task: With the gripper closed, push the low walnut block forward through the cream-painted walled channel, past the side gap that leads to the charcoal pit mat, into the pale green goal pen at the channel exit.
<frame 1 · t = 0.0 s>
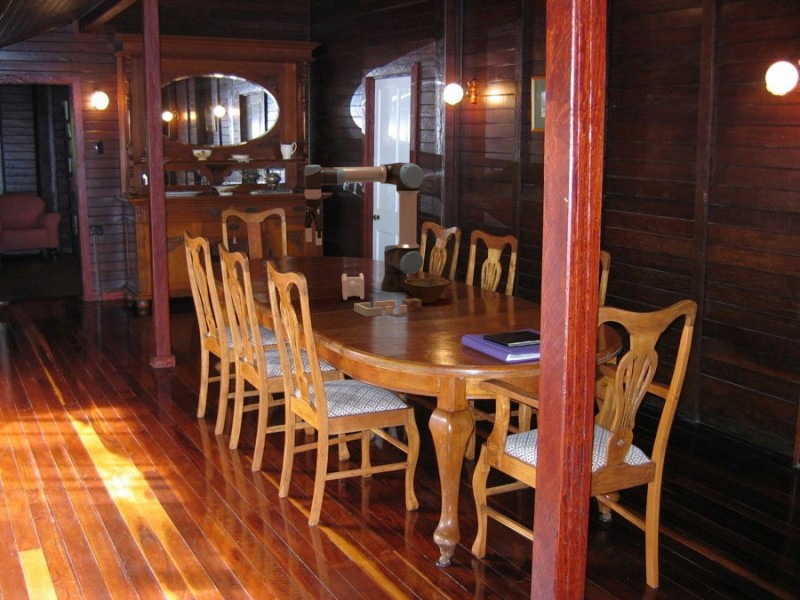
hand: (313, 243, 435), 28 cm above the table, fingers open, 13 cm apart
pit mat: (400, 315, 410), on the table
block: (411, 309, 424), on the table
bowl: (426, 301, 442), on the table
channel: (390, 311, 419), on the table
cable organizer: (352, 299, 449), on the table
goal pen: (371, 312, 415), on the table
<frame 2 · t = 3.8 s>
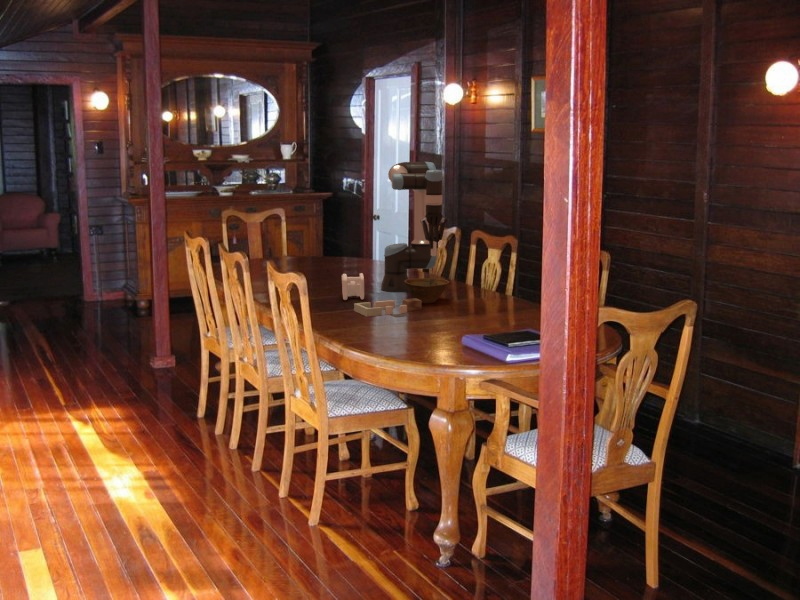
hand: (433, 255, 424), 24 cm above the table, fingers closed
nothing on the table moved.
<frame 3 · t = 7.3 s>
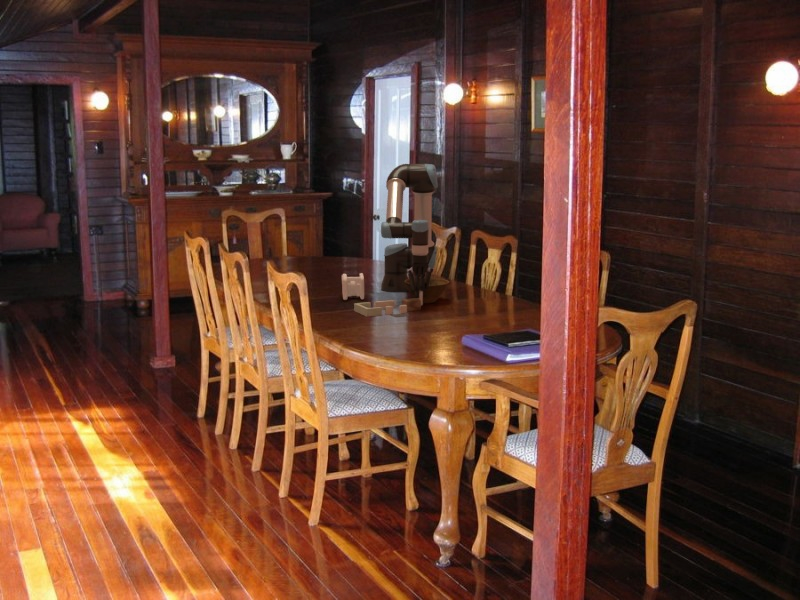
hand: (419, 304, 425), 2 cm above the table, fingers closed
block: (411, 309, 423), on the table, touching gripper
everything else where it was.
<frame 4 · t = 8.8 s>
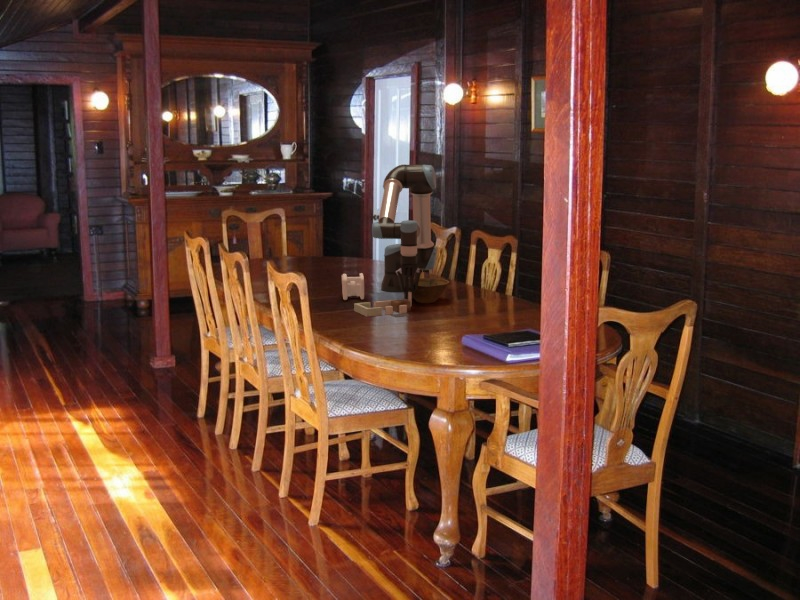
hand: (408, 305, 423), 2 cm above the table, fingers closed
block: (400, 310, 421), on the table, touching gripper
everything else where it was.
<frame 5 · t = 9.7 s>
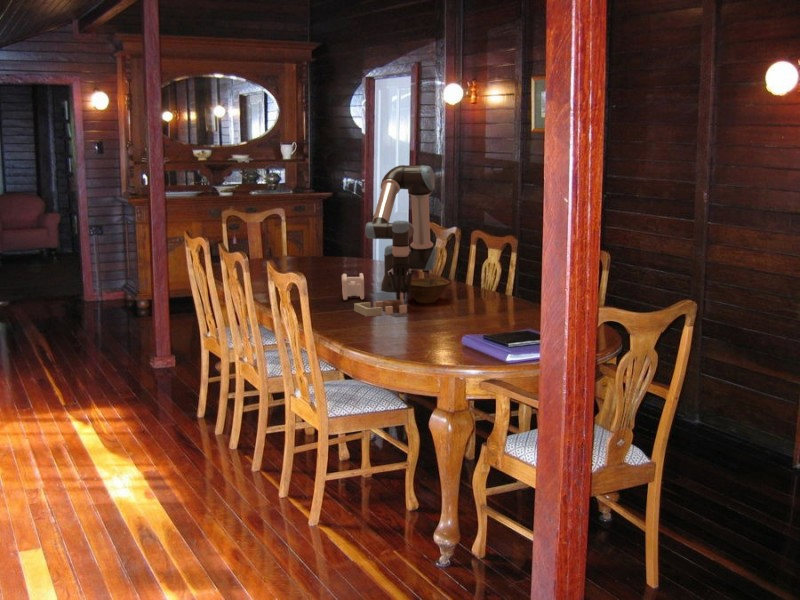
hand: (400, 306, 421), 2 cm above the table, fingers closed
block: (392, 311, 419), on the table, touching gripper
everything else where it was.
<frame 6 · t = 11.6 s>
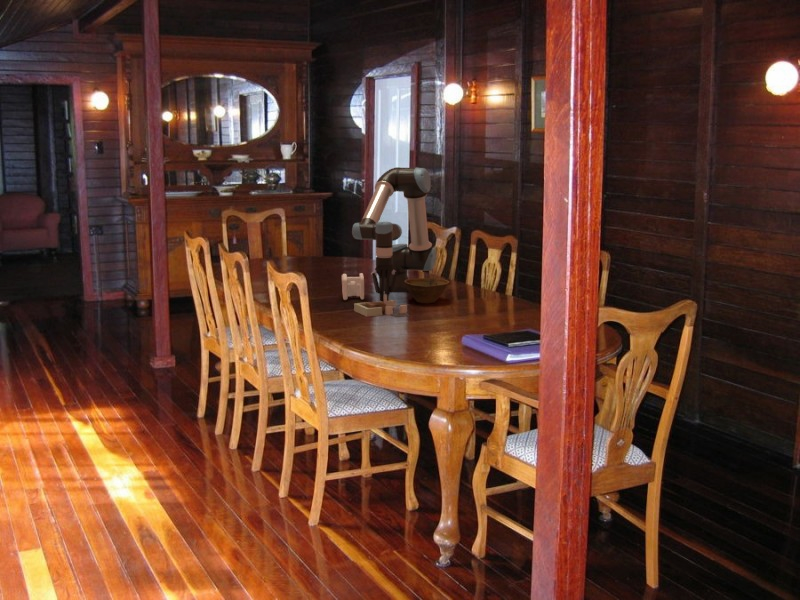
hand: (384, 308, 417), 2 cm above the table, fingers closed
block: (376, 313, 416), on the table
everything else where it was.
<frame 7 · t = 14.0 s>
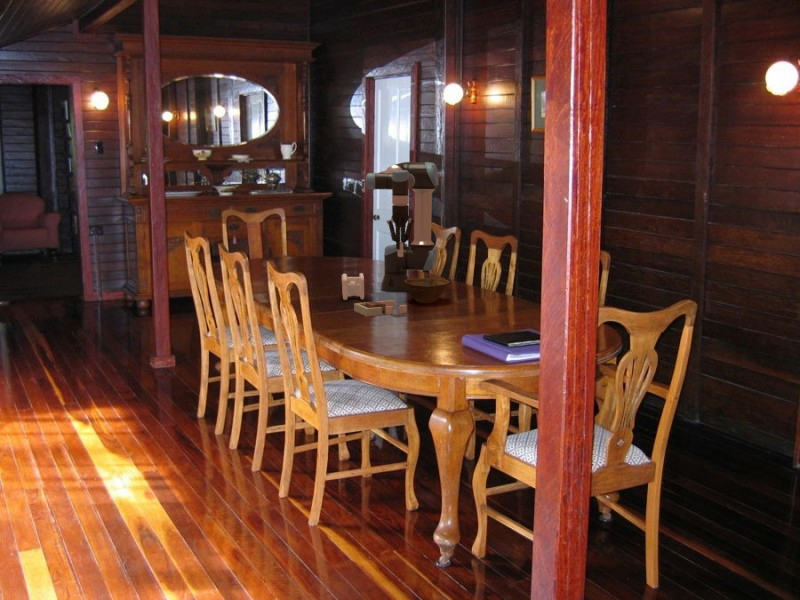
hand: (400, 256, 421), 24 cm above the table, fingers closed
nothing on the table moved.
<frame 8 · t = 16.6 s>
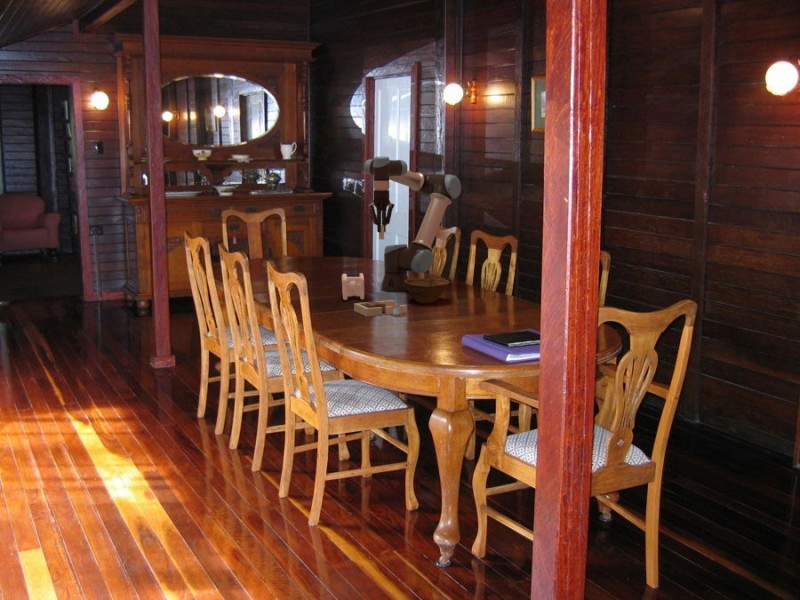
hand: (381, 239, 441), 29 cm above the table, fingers closed
nothing on the table moved.
at the end: block inside the target area (1.2 cm from its centre), on the table; block tilted 0° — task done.
